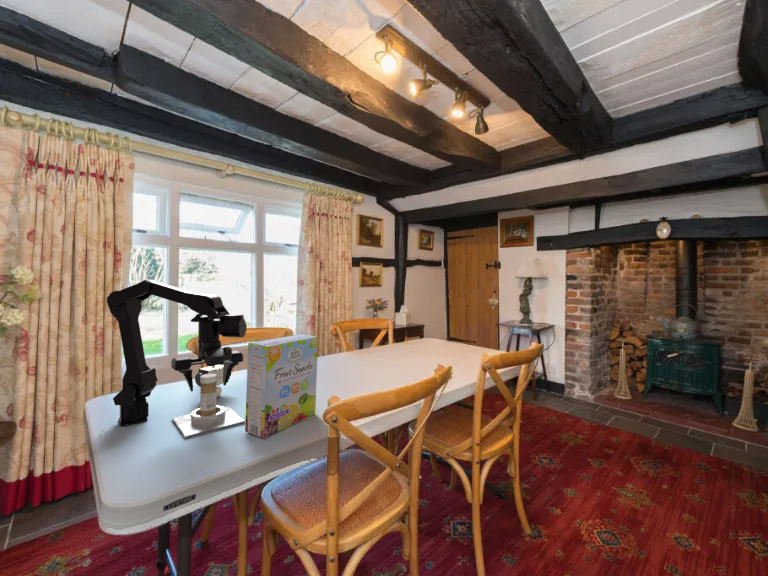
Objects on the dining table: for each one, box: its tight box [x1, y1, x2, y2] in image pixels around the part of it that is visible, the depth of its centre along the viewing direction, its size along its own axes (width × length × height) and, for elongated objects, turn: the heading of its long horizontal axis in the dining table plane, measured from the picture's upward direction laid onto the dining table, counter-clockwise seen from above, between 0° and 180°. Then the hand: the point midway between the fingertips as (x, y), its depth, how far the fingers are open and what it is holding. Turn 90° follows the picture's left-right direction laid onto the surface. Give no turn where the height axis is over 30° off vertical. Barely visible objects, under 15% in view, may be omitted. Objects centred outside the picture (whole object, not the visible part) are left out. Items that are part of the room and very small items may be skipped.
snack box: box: [244, 333, 319, 439], centre depth 105 cm, size 22×9×26 cm, turn 151°
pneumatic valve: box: [194, 365, 232, 398], centre depth 127 cm, size 6×12×12 cm, turn 152°
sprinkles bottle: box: [199, 374, 217, 416], centre depth 105 cm, size 5×5×13 cm
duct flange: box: [172, 405, 245, 440], centre depth 105 cm, size 16×16×3 cm
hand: (208, 388), depth 105 cm, fingers open, 9 cm apart
